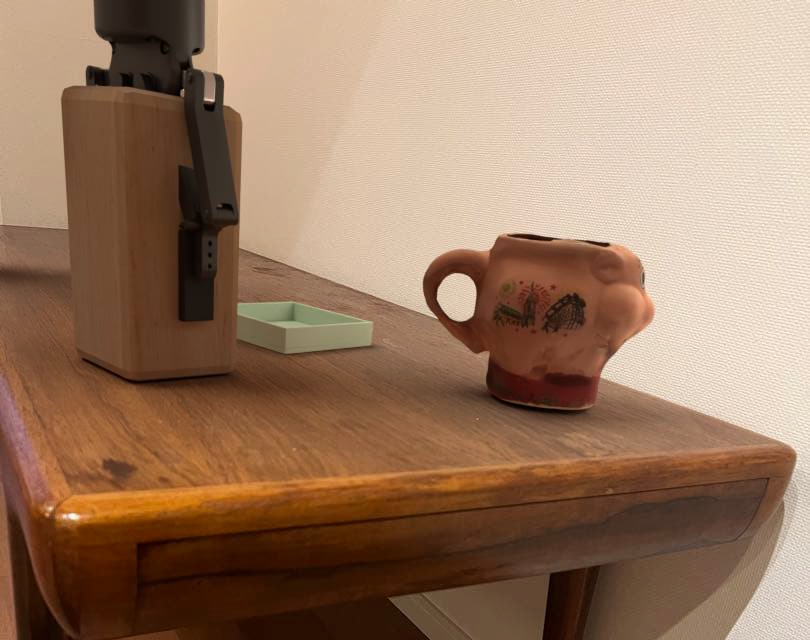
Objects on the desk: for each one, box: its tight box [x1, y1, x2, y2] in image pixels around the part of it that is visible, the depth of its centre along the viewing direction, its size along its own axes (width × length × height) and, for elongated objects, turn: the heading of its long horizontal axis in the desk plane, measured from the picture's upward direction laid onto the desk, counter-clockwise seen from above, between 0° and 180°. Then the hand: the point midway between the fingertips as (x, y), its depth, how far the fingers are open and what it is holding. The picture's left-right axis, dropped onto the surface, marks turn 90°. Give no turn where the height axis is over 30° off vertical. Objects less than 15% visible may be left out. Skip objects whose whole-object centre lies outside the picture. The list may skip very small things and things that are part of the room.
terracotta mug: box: [422, 232, 656, 411], centre depth 67 cm, size 20×12×14 cm, turn 95°
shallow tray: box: [237, 301, 374, 355], centre depth 83 cm, size 13×13×2 cm
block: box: [60, 85, 243, 383], centre depth 61 cm, size 10×10×20 cm
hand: (155, 307), depth 64 cm, fingers closed on block, 10 cm apart
